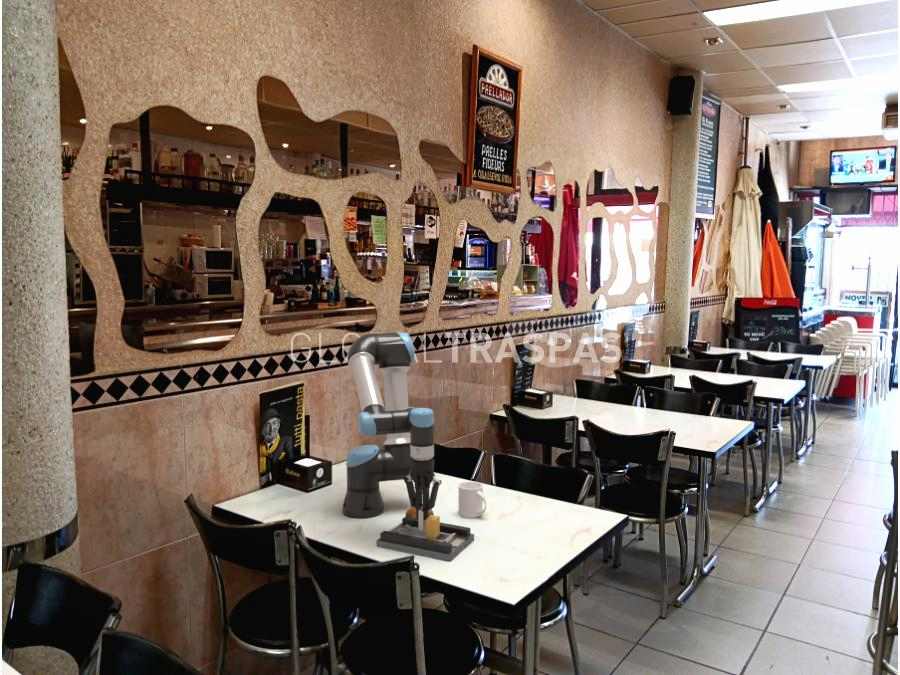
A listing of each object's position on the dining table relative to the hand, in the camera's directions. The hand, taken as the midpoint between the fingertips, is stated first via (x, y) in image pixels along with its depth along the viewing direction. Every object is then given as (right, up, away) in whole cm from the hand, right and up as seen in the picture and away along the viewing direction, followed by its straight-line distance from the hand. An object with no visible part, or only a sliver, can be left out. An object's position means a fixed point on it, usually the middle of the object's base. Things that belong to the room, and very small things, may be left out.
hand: (422, 529), depth 224 cm
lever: (+3, -3, -1) cm, 4 cm away
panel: (+1, -5, 0) cm, 5 cm away
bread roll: (-2, -3, +19) cm, 19 cm away
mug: (+17, -2, +25) cm, 30 cm away
